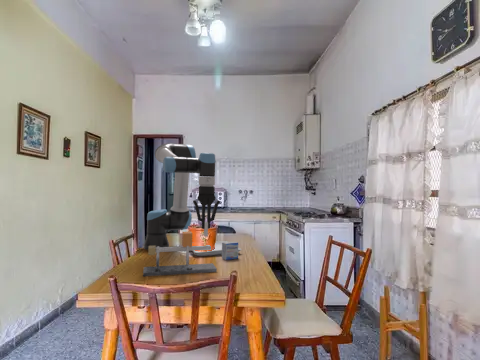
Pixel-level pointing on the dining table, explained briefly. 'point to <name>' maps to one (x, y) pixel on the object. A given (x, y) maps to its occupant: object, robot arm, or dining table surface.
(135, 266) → the dining table surface
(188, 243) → the post
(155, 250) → the frame
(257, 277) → the dining table surface
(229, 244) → the medicine box
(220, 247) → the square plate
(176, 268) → the bolt plate
